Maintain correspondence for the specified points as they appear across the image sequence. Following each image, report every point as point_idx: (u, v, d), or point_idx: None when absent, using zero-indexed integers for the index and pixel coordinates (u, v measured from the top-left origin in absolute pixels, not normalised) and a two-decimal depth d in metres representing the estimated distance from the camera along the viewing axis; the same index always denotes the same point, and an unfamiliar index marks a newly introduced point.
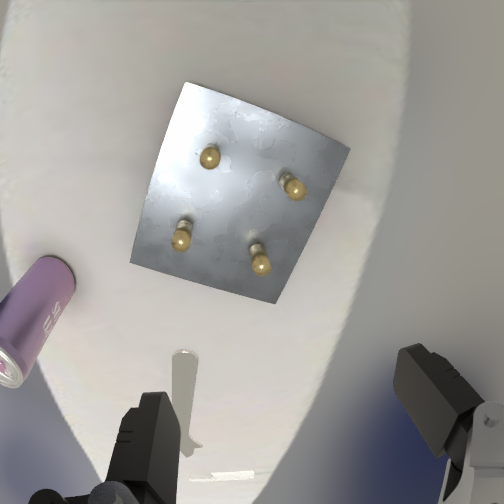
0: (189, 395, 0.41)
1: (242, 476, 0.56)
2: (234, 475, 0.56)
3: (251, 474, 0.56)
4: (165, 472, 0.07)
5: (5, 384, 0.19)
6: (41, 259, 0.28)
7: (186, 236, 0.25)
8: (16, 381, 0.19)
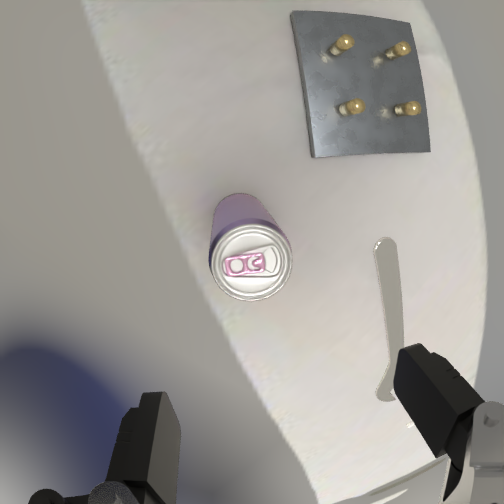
0: (398, 295, 0.40)
1: None
2: None
3: None
4: (166, 472, 0.07)
5: (262, 298, 0.22)
6: (224, 199, 0.33)
7: (359, 98, 0.27)
8: (281, 276, 0.22)
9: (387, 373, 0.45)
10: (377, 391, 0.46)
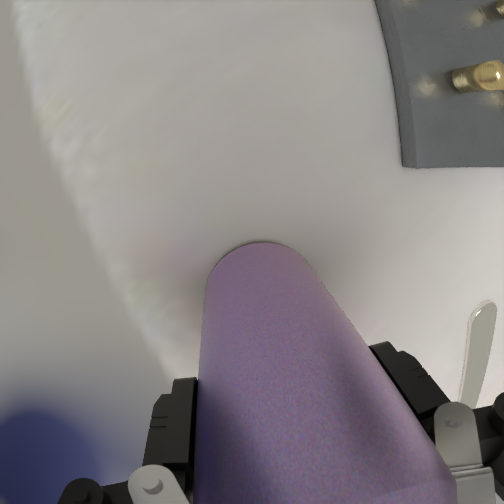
0: (481, 374, 0.22)
1: None
2: None
3: None
4: None
5: None
6: (227, 258, 0.15)
7: (499, 62, 0.09)
8: None
9: None
10: None
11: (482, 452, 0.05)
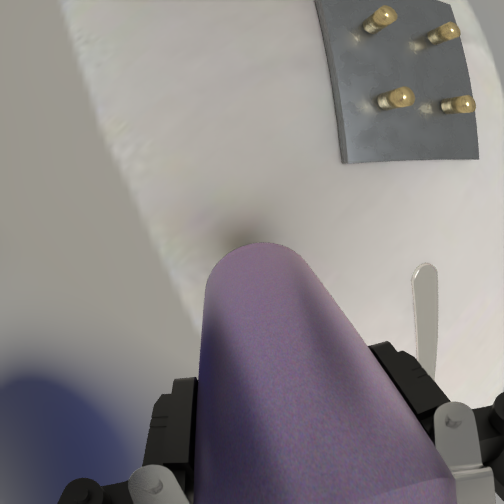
0: (434, 329, 0.31)
1: None
2: None
3: None
4: None
5: None
6: (227, 258, 0.15)
7: (406, 87, 0.19)
8: None
9: None
10: None
11: (482, 452, 0.05)
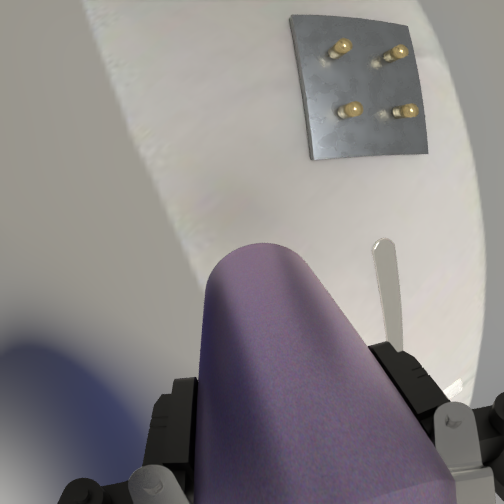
0: (397, 295, 0.41)
1: (452, 391, 0.50)
2: (445, 394, 0.50)
3: (459, 384, 0.50)
4: None
5: None
6: (227, 258, 0.15)
7: (357, 101, 0.28)
8: None
9: None
10: None
11: (482, 452, 0.05)
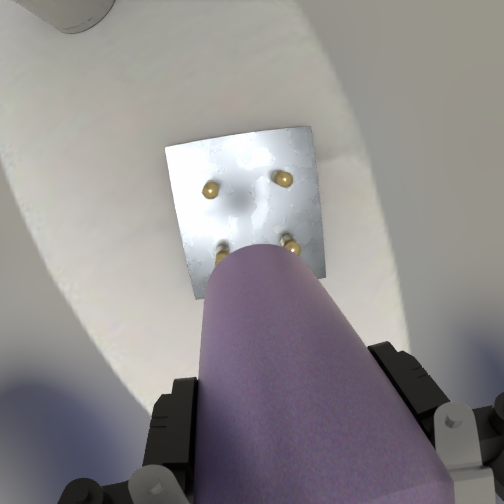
0: None
1: None
2: None
3: None
4: None
5: None
6: (227, 259, 0.15)
7: (224, 254, 0.32)
8: None
9: None
10: None
11: (482, 452, 0.05)
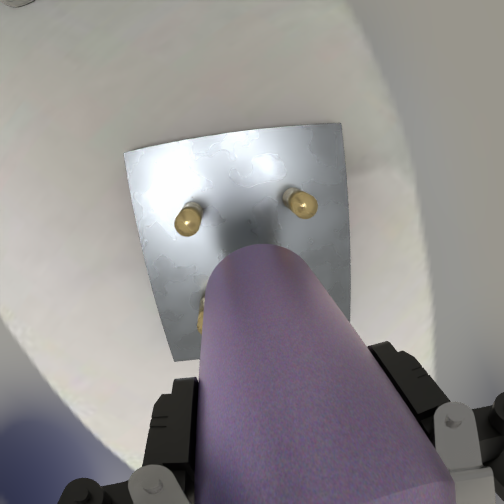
0: None
1: None
2: None
3: None
4: None
5: None
6: (227, 259, 0.15)
7: None
8: None
9: None
10: None
11: (482, 452, 0.05)
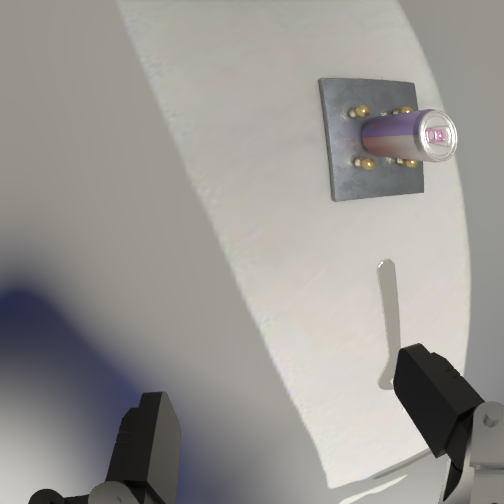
0: (395, 303, 0.51)
1: None
2: None
3: None
4: (166, 472, 0.07)
5: (443, 160, 0.28)
6: (371, 119, 0.39)
7: (371, 158, 0.38)
8: (451, 147, 0.27)
9: (387, 366, 0.56)
10: (379, 381, 0.57)
11: None
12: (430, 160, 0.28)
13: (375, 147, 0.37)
